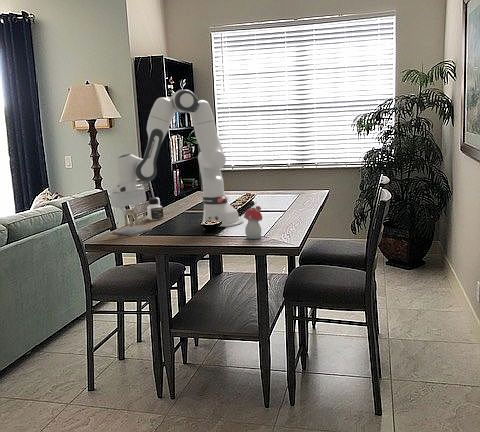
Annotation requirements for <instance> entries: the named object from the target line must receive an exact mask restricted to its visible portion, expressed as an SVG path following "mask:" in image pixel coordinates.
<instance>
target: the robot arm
mask: <svg viewBox="0 0 480 432" xmlns="http://www.w3.org/2000/svg"><path fill="white" fill-rule="evenodd" d="M175 113H188V114H189V115H190V117H191V119H192V124H193V130H194V135H195V139H196V142H197V143H198V147H199V149H200V152H199V153H198V155H197V160H198V161H197V162H198V166H199V172H200V176H201V181H202V194H203V196H202V203H203V214H202V215H203V217H202V224H203V222H205V221H207V220H216V221H222V224H221V225H220V226H219V227H224V228H225V227H226V228H227V227H232V226H233V227H234V226H238V225H241V224H243V223H244V222H245V221H244V219H240V218H239V212H238V210H237V209H236V208H234V207H233V206H232V205H231V204H230V203H229V196H227V197H226V195H225V186H224V185H225V184H224V182H225V181H224V178H223V174H222V170H221V169H223V167H225V166H226V165H225V164H226V162H227V161H226V160H227V159H226V155H225V154H224V151H223V148H222V144H221V141H220V139H219V136H218V131H217V126H216V121H215V117H214V113H213V110H212V108H211V105H210V103H209V102H208V101H206V100H204V99H199V98H198V97H197V96H196V94H195V93H194V92H193V91H191V90H190V89H178V90H177V91H176V92H174V93H173V94H171V95H170V96H169V97H168V98H167V97H165V96H164V97H163V96H162V97H158V98H157V99H156V100H155V101H154V103H153V106H152V107H151V110H150V113H149V116H148V120H147V124H146V133H147V138H148V139H147V146H146V149H145V151H144V155H143V158H141V157H139V156H136V155H134V154H133V153H126V154H122V155H120V156H119V157H117V160H116V170H117V171H116V172H117V175H118V183H117V184H116V185H114V186H112V187H111V188H110V192H111V193H110V204H111V207H112V208H114V209H115V208H116V209H118V208H120V211H121V212H122V216H124V215H127V211H125V210H126V207H128V206H132V205H133V206H134V208H133V209H136V213H138V212H139V207H140V204H142V203H146V201H147V195H146V190H145V186H144V185H143V184H137V183H138V182H137V179H139V180H140V181H142V182H144V183H145V182H151V181H153V180H154V179H155V178H156V176H157V174H158V168H157V160H158V156H159V153H160V151H161V150H160V148H161V145H162V143H163V141H164V139H165V137H166V135H167V134H168V131H169V129H170V125H171V122H172V118H173V117H174V115H175ZM127 216H128V215H127Z"/></svg>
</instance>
